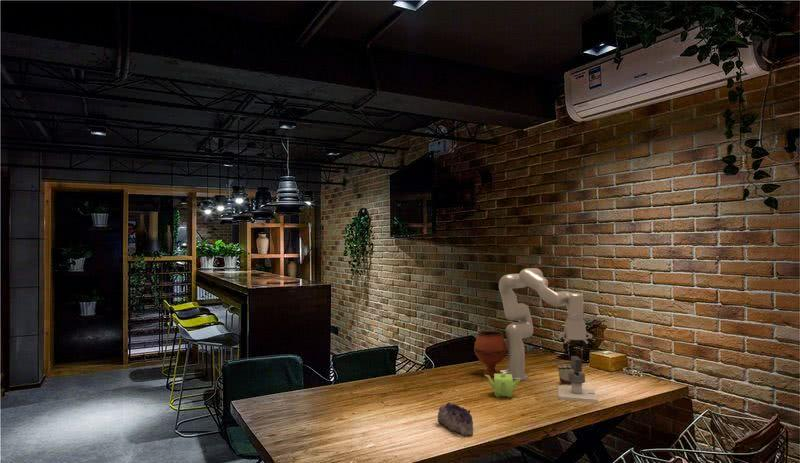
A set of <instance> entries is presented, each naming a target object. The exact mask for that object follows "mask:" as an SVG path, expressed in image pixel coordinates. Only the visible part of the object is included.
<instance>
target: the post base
mask: <svg viewBox="0 0 800 463" xmlns="http://www.w3.org/2000/svg"><path fill="white" fill-rule="evenodd" d="M557 392H558V394H557V395H558V400H562V401H563V400H564V401H571V400H572V401H573V402H583V403H595V404H598V403H599V400H598V396H597V394H596V391H595V388H588V387H583V383H572V385H571V386H566V385H557Z"/></svg>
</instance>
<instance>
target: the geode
mask: <svg viewBox="0 0 800 463" xmlns="http://www.w3.org/2000/svg"><path fill="white" fill-rule="evenodd" d="M473 420H474V419H473V416H472V415H471V410H467V409H466V408H464V407H463V406H462V407H461V406H460V405H458V404H456V403H450V402H447V403H446V404H445V405H442V406H441V405H440V407H439V408H438V412H437V422H438V423H439V424H442V425H444V428H446V429H447V430H448V431H450V432H454V433H455V432H456V433H459V434H460V435H461V436H462V437H468V438H469V437H473V435H474V422H473Z"/></svg>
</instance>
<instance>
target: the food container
mask: <svg viewBox="0 0 800 463" xmlns="http://www.w3.org/2000/svg"><path fill="white" fill-rule="evenodd" d="M556 368H557V370H556V371H558V378H559V383H560V384H559V386H572V382H570V381H568V373H569V372H574V370H573V369H572V368H571V363H570V364H569V363H564V364H563V363H562V364H558V365H557V367H556Z"/></svg>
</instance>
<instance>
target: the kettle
mask: <svg viewBox="0 0 800 463" xmlns="http://www.w3.org/2000/svg"><path fill="white" fill-rule="evenodd" d="M484 376H485V377H487V379H488V382H489V385H490V386H491V388H493V389H494V390H493V391H494V396H495V398H501V397H506V398H507V399H512V397H514V389H515V388H516V387H517V385H518V384H519V383H520V382H521V380H519V379H517V380H513V379H512V374H505V373H498V374H495V373H494V376H493V377H494V378H493V379H492V378H491V377H492V376H489V375H484ZM493 380H494V381H493Z"/></svg>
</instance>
